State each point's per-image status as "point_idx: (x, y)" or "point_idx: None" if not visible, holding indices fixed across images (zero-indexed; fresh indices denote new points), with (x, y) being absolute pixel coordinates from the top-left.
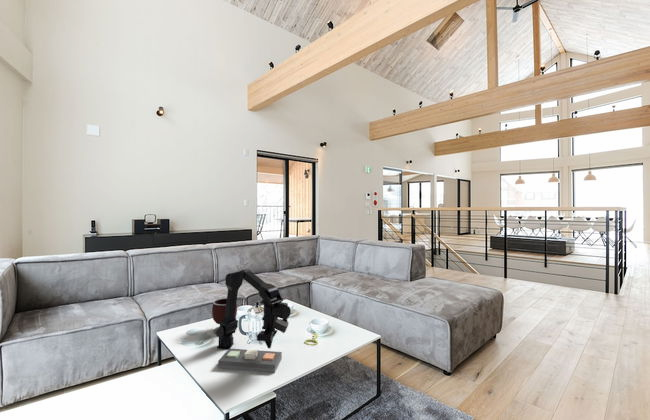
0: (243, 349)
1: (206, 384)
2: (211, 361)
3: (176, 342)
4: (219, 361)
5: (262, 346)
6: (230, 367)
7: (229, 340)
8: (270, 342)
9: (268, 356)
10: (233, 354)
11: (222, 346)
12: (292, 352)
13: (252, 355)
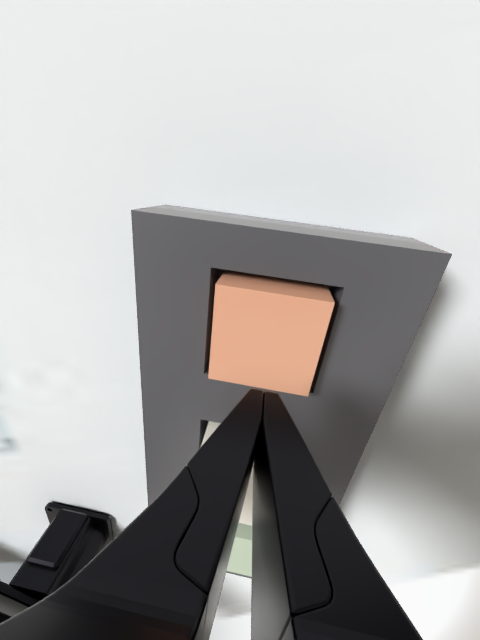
0: (149, 502)
1: (447, 566)
2: None
3: None
4: None
5: (14, 373)
6: None
7: (67, 561)
8: (331, 503)
9: (280, 347)
10: (244, 554)
11: (103, 546)
12: (9, 98)
13: None
